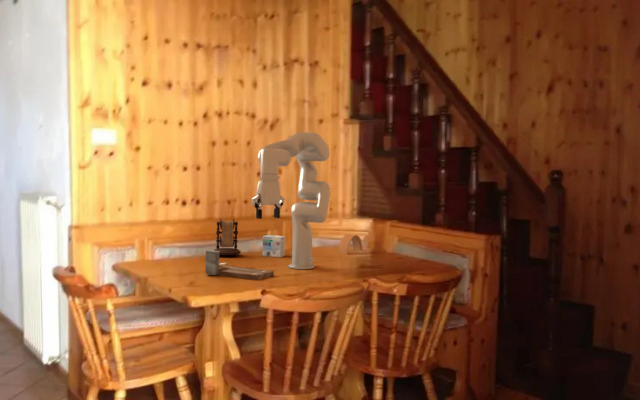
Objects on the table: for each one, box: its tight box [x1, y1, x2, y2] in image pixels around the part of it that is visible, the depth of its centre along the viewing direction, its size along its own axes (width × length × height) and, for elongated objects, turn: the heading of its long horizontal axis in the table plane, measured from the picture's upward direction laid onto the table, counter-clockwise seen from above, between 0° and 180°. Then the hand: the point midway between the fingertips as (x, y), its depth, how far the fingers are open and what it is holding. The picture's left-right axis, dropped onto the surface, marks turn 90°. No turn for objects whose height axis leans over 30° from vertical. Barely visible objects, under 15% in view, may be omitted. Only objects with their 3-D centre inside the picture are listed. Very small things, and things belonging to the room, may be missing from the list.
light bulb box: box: [262, 234, 286, 258], centre depth 357 cm, size 11×7×11 cm, turn 73°
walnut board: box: [209, 265, 275, 281], centre depth 297 cm, size 14×26×2 cm, turn 64°
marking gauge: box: [204, 250, 229, 276], centre depth 297 cm, size 12×5×10 cm, turn 154°
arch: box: [337, 234, 363, 255], centre depth 380 cm, size 6×20×10 cm, turn 151°
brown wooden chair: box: [212, 217, 242, 258], centre depth 352 cm, size 15×15×20 cm
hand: (267, 218), depth 284 cm, fingers open, 9 cm apart
